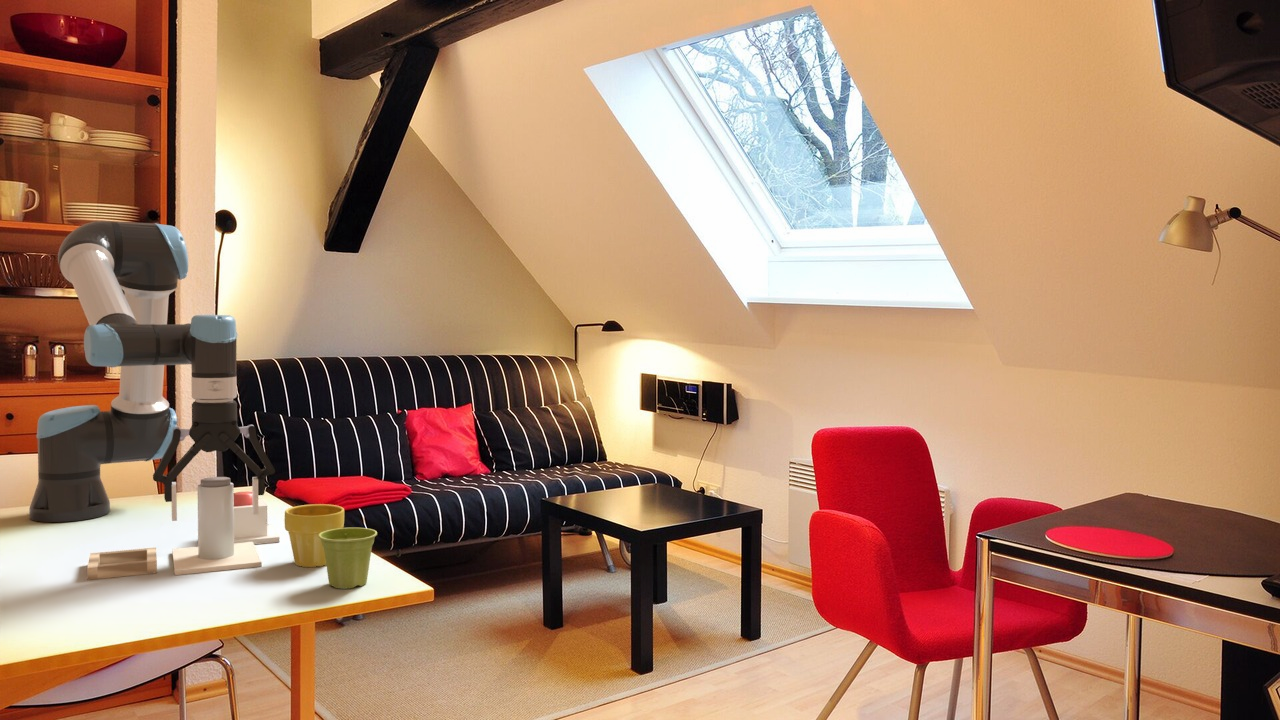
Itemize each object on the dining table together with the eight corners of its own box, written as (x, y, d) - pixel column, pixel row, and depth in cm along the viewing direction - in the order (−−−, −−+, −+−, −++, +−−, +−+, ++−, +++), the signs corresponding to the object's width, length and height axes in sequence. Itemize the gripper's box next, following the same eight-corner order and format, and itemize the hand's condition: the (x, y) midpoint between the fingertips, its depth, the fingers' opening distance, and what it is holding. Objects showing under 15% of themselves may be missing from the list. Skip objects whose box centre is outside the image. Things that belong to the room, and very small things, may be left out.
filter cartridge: (196, 553, 180) (196, 477, 179) (232, 549, 183) (231, 475, 182) (199, 561, 174) (198, 483, 174) (235, 557, 177) (235, 481, 176)
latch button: (232, 517, 195) (231, 492, 195) (253, 515, 197) (253, 490, 197) (233, 521, 192) (233, 496, 191) (255, 519, 193) (255, 494, 193)
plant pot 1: (356, 558, 181) (356, 506, 180) (320, 572, 171) (320, 517, 171) (309, 552, 184) (309, 501, 184) (272, 566, 175) (271, 512, 174)
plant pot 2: (326, 576, 169) (325, 527, 169) (381, 576, 170) (381, 526, 169) (312, 592, 160) (312, 540, 159) (371, 592, 161) (371, 540, 160)
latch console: (209, 534, 197) (208, 500, 197) (272, 528, 203) (272, 495, 202) (212, 548, 187) (212, 511, 186) (279, 542, 192) (279, 506, 192)
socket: (90, 564, 174) (90, 553, 174) (156, 558, 179) (156, 547, 179) (87, 579, 165) (87, 568, 165) (156, 572, 169) (156, 561, 169)
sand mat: (172, 553, 182) (172, 548, 182) (252, 545, 189) (252, 541, 189) (174, 575, 168) (174, 570, 168) (261, 566, 175) (261, 562, 174)
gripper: (136, 404, 168) (138, 526, 169) (289, 400, 179) (290, 514, 180) (137, 400, 174) (138, 517, 176) (284, 396, 186) (285, 506, 187)
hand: (215, 516), depth 178 cm, fingers open, 13 cm apart
